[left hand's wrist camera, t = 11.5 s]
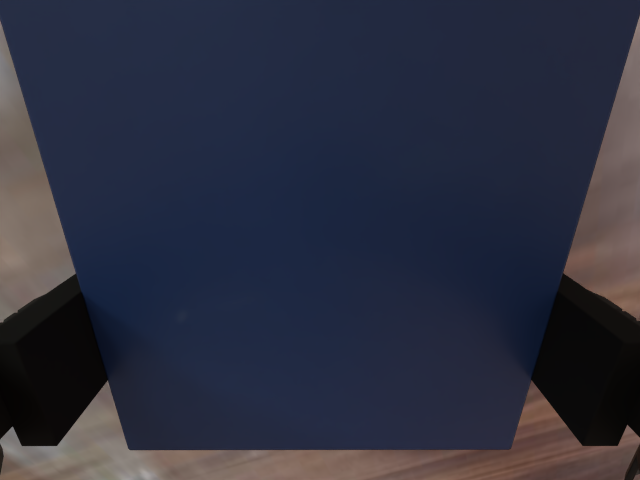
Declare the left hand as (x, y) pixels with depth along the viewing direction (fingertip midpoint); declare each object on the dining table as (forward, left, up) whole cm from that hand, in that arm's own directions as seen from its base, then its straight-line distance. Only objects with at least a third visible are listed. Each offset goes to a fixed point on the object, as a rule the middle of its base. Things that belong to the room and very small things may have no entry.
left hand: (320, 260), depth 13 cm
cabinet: (+3, -1, -6) cm, 7 cm away
